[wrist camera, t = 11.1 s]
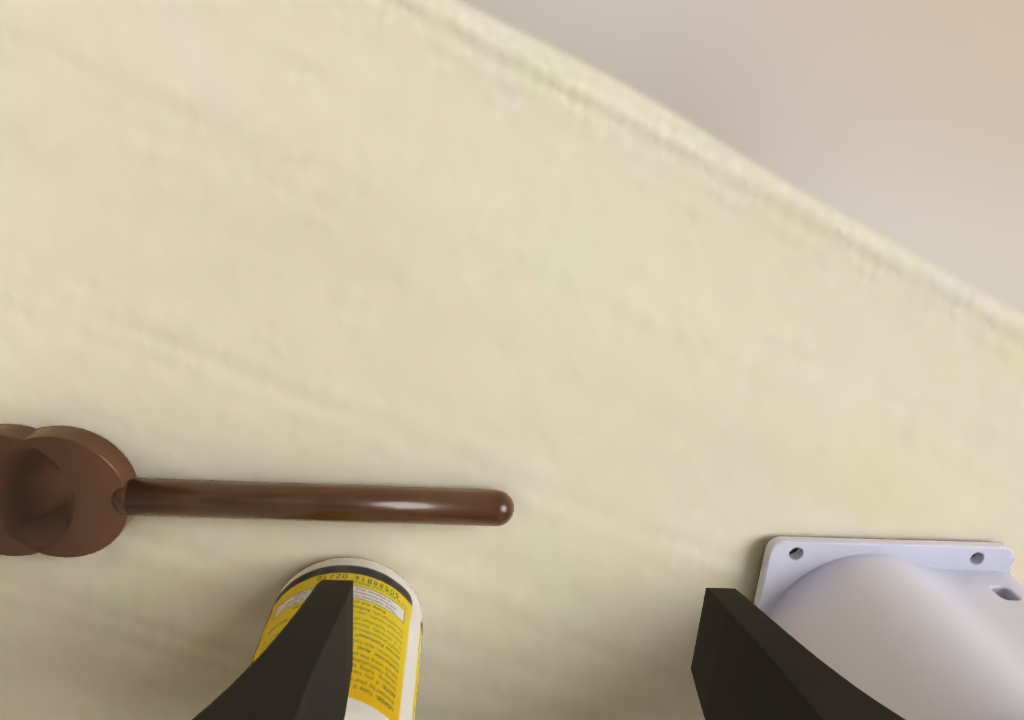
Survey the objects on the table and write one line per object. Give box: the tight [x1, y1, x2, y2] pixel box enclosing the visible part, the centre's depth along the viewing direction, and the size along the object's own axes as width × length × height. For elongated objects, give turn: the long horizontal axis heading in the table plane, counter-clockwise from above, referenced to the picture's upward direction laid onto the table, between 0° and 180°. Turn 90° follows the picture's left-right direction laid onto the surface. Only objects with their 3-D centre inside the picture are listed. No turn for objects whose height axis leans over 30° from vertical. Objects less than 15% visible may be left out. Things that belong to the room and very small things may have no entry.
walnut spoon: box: [0, 424, 514, 557], centre depth 24 cm, size 19×4×1 cm, turn 86°
